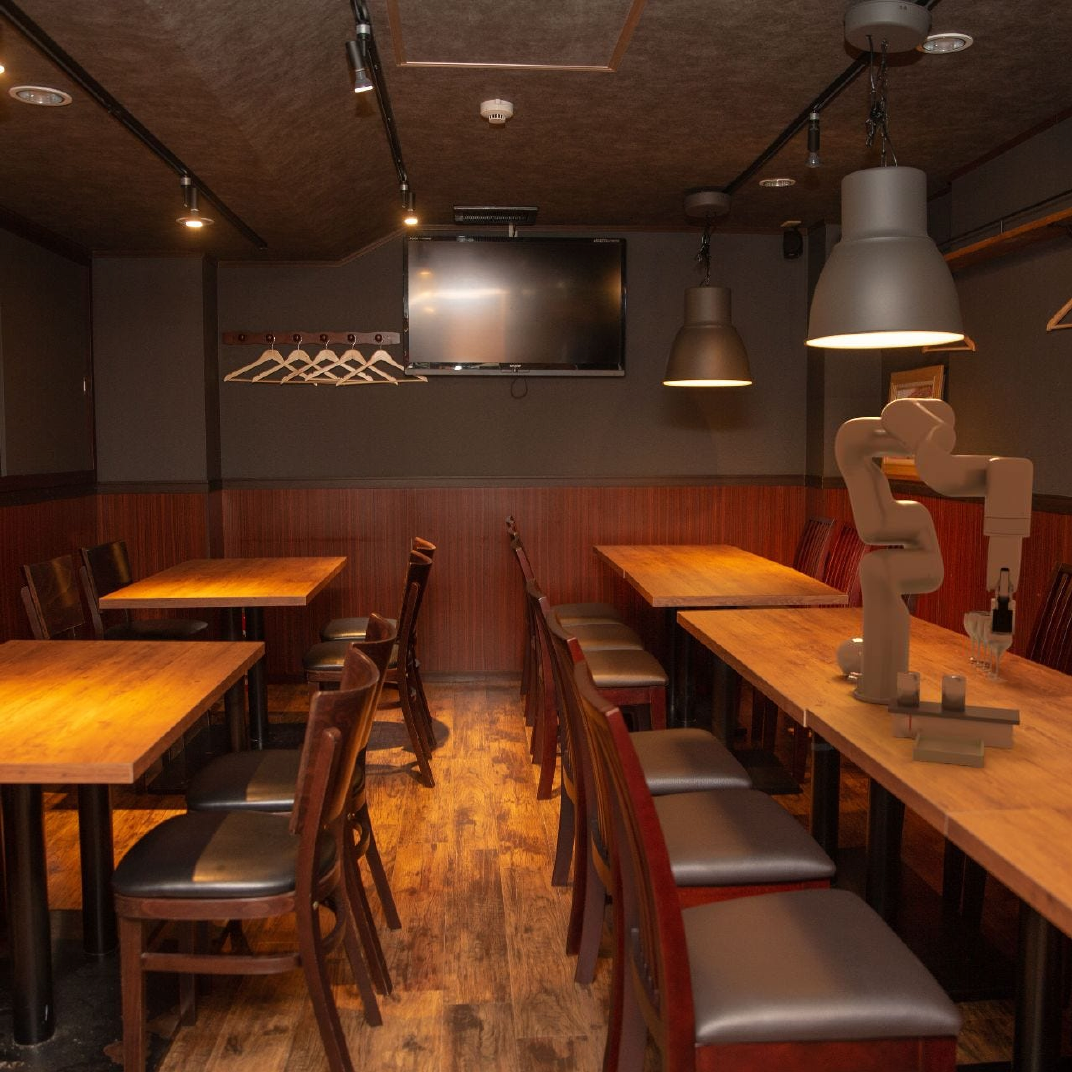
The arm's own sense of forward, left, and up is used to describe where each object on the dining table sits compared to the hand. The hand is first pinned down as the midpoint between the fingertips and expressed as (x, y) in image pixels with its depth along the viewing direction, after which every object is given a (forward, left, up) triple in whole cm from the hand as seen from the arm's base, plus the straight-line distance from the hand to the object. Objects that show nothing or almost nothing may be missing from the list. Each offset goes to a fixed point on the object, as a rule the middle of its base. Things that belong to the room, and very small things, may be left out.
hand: (1001, 628), depth 188 cm
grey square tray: (0, -15, -21) cm, 25 cm away
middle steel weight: (-6, -4, -15) cm, 17 cm away
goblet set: (-36, +57, -21) cm, 71 cm away
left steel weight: (-13, -8, -15) cm, 22 cm away
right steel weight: (0, 0, -1) cm, 1 cm away
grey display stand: (-6, -4, -21) cm, 22 cm away
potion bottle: (-47, +27, -21) cm, 58 cm away
